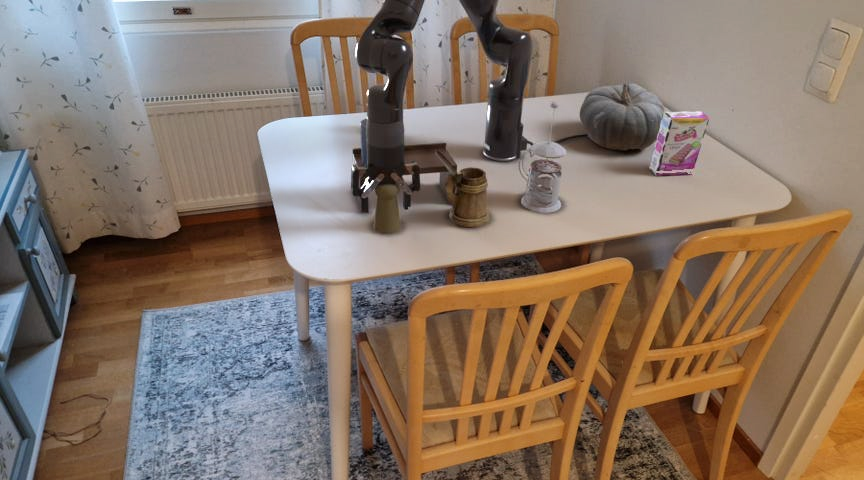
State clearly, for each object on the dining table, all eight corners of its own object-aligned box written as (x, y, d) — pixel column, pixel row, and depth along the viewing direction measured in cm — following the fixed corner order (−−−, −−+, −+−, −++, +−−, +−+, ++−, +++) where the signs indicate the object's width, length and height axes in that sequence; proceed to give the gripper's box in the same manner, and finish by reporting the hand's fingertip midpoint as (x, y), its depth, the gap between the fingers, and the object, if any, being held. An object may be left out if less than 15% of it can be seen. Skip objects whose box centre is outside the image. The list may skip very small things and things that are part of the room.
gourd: (635, 113, 200) (647, 62, 188) (677, 158, 184) (693, 105, 172) (563, 126, 194) (570, 74, 182) (600, 173, 178) (611, 120, 165)
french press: (549, 217, 147) (565, 113, 133) (506, 201, 152) (517, 100, 138) (568, 201, 154) (584, 101, 140) (526, 187, 159) (538, 88, 145)
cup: (387, 154, 145) (386, 116, 140) (394, 170, 139) (394, 130, 134) (359, 156, 144) (357, 117, 138) (365, 172, 137) (364, 132, 132)
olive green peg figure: (396, 235, 136) (395, 189, 129) (369, 231, 136) (367, 185, 130) (404, 222, 141) (404, 177, 134) (378, 217, 141) (377, 173, 135)
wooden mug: (424, 216, 143) (426, 141, 133) (476, 205, 149) (482, 133, 139) (442, 235, 137) (445, 158, 127) (496, 222, 143) (503, 148, 133)
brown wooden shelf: (443, 184, 157) (445, 142, 150) (455, 204, 149) (457, 160, 143) (354, 192, 150) (352, 148, 144) (361, 212, 143) (359, 167, 136)
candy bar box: (656, 177, 169) (671, 118, 160) (648, 168, 173) (662, 110, 164) (693, 175, 172) (710, 117, 162) (684, 167, 175) (700, 110, 166)
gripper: (352, 148, 122) (355, 221, 131) (424, 144, 126) (422, 215, 135) (346, 133, 128) (350, 204, 137) (415, 129, 132) (414, 198, 141)
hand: (386, 209), depth 136 cm, fingers open, 8 cm apart
